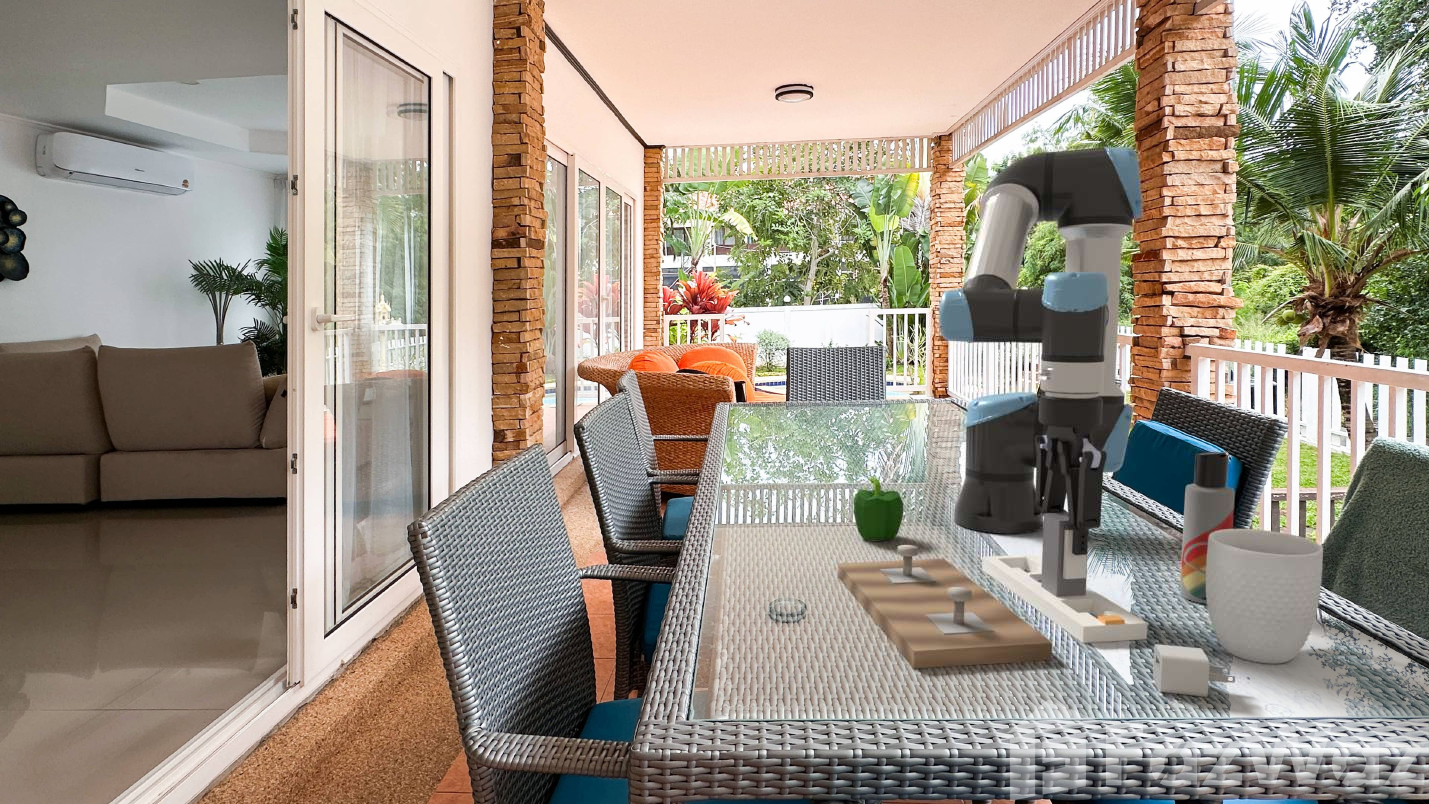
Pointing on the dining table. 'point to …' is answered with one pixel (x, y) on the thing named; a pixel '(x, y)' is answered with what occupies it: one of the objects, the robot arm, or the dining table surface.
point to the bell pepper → (878, 513)
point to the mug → (1262, 592)
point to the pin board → (940, 613)
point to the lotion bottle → (1204, 520)
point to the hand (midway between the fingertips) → (1063, 570)
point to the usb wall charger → (1185, 670)
